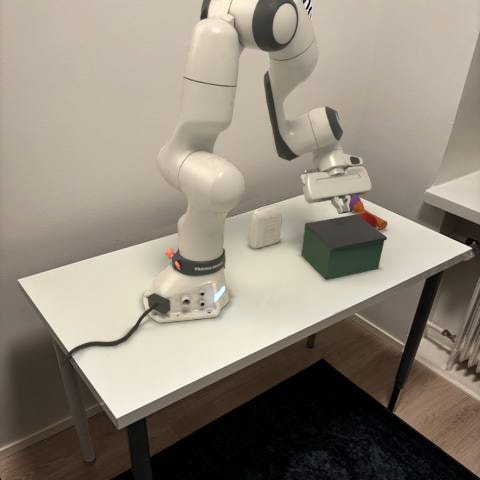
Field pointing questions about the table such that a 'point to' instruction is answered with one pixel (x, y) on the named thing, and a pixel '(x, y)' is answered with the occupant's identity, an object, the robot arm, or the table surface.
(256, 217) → the photo printer
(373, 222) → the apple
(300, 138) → the robot arm
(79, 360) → the table surface
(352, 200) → the kendama
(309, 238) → the bin
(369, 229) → the bin lid
